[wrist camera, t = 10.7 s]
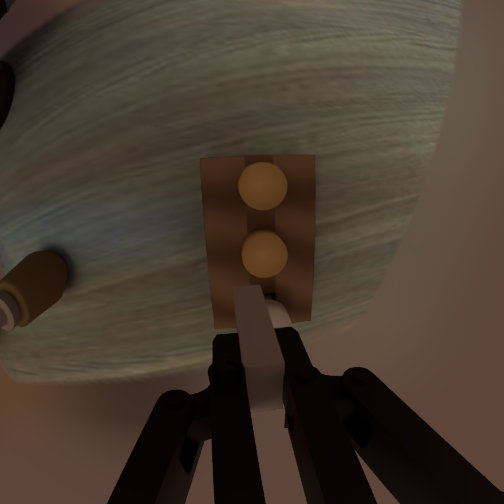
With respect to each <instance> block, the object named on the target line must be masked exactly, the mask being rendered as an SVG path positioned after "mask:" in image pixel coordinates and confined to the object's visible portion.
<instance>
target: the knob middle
mask: <svg viewBox="0 0 504 504" xmlns="http://www.w3.org/2000/svg"><path fill="white" fill-rule="evenodd" d="M241 255H242V260H243V264H244V266H245V268H246V269H247V271H248V272H249V273H251V274H252V275H254V276H257V277H261V278H267V277H272V276H274V275H276V274H278V273H279V272H280V271H281V270H282V269H283V268H284V266H285V265H286V262H287V258H288V252H287V248H286V246H285V244H284V243H283V241H282V240H281V238H280V237H279V236H278V234H276V233H275V232H274V231H272V230H269V229H256V230H254V231H252V232H250V233H249V234H248V235H247V236H246V237H245V238H244V240H243V242H242V245H241Z"/></svg>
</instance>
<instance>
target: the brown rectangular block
mask: <svg viewBox="0 0 504 504" xmlns="http://www.w3.org/2000/svg"><path fill="white" fill-rule="evenodd" d="M256 162H266V163H271V164H273V165H275V166H277V167H278V168H279V169H280V170H281V171H282V172H283V173H284V175H285V177H286V180H287V192H286V195H285V197H284V199H283V200H282V202H281V203H280V204H279V205H277V206H276V207H274V208H272V209H269V210H257V209H254V208H252V207H250V206H248V205H247V204H246V203H245V202H244V200H243V199H242V197H241V195H240V193H239V190H238V178H239V176H240V174H241V172H242V171H243V169H244V168H245V167H247V166H248V165H250V164H252V163H256ZM200 170H201V186H202V201H203V215H204V227H205V239H206V250H207V261H208V271H209V280H210V290H211V299H212V308H213V316H214V324H215V329H228V328H237V327H236V316H235V304H234V292H233V287H238V286H249V285H260V286H261V289H262V292H263V294H264V293H274V295H271V296H272V299H273V300H275V301H278V302H280V303H281V304H283V305H284V307H285V308H286V310H287V313H288V315H289V317H290V320H291V322H292V323H294V322H303V321H311V308H312V292H313V273H314V248H315V155H254V156H231V157H215V158H202V159H200ZM256 229H269V230H272V231H274V232H275V233H276V234H278V236H279V237H280V238H281V240H282V241H283V243H284V244H285V246H286V248H287V252H288V258H287V262H286V265H285V266H284V268H283V269H282V270H281V271H280V272H279V273H278V274H276V275H274V276H272V277H267V278H261V277H257V276H254V275H252V274H251V273H249V272H248V271H247V269H246V268H245V266H244V264H243V260H242V255H241V245H242V242H243V240H244V238H245V237H246V236H247V235H248V234H249V233H250V232H252V231H254V230H256Z"/></svg>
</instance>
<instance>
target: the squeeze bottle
mask: <svg viewBox="0 0 504 504" xmlns="http://www.w3.org/2000/svg"><path fill="white" fill-rule="evenodd" d="M67 278H68V269H67V266H66V264H65V262H64V260H63V259H62V258H61V256H59V255H58V254H56V253H55V252H50V251H42V252H33V253H31V254H29V255H28V256H26V257H25V258H24V259H23V260H22V261H21V262H20V263H19V264H17V265H16V266H15V267H14V268H13V269H12V270H11V271H10V272H9V273H8V274H7V275H6V276H5V277H4V278H2V279H1V280H0V328H2V329H4V330H6V331H12V330H13V329H14V328H15V327H16V326H19V327H23V326H27V325H28V324H29V323H30V322H32V321H33V320H34V319H35V318H37V317H38V316H39V315H40V314H42V313H43V312H44V311H46V310H47V309H48V308H49V307H51V306H52V305H53V304H55V303H56V302H57V301H58V300H59V299H60V298H61V297H62V294H63V291H64V288H65V285H66V282H67Z"/></svg>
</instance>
